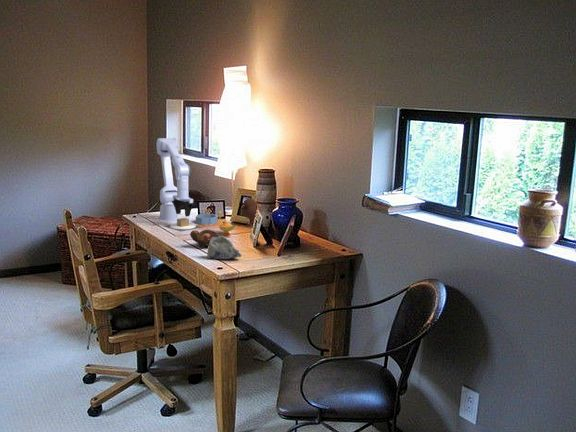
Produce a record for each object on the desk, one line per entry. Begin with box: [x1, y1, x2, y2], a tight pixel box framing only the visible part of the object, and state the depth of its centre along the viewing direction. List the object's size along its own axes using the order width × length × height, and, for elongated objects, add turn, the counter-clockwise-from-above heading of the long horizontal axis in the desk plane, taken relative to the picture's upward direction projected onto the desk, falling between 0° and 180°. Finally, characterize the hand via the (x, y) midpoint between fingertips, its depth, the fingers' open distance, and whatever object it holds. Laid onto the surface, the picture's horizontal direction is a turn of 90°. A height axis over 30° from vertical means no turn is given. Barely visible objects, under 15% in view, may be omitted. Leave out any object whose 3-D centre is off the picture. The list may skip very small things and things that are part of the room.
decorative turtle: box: [189, 229, 220, 249], centre depth 260 cm, size 10×15×8 cm, turn 111°
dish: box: [195, 213, 219, 226], centre depth 307 cm, size 11×11×4 cm
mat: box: [163, 224, 204, 232], centre depth 296 cm, size 15×14×1 cm
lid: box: [169, 217, 196, 231], centre depth 295 cm, size 13×13×4 cm
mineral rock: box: [207, 235, 242, 260], centre depth 242 cm, size 13×11×10 cm
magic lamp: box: [218, 210, 239, 237], centre depth 282 cm, size 7×18×11 cm, turn 36°
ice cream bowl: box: [240, 197, 257, 228], centre depth 302 cm, size 11×11×15 cm
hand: (183, 215), depth 294 cm, fingers open, 7 cm apart
